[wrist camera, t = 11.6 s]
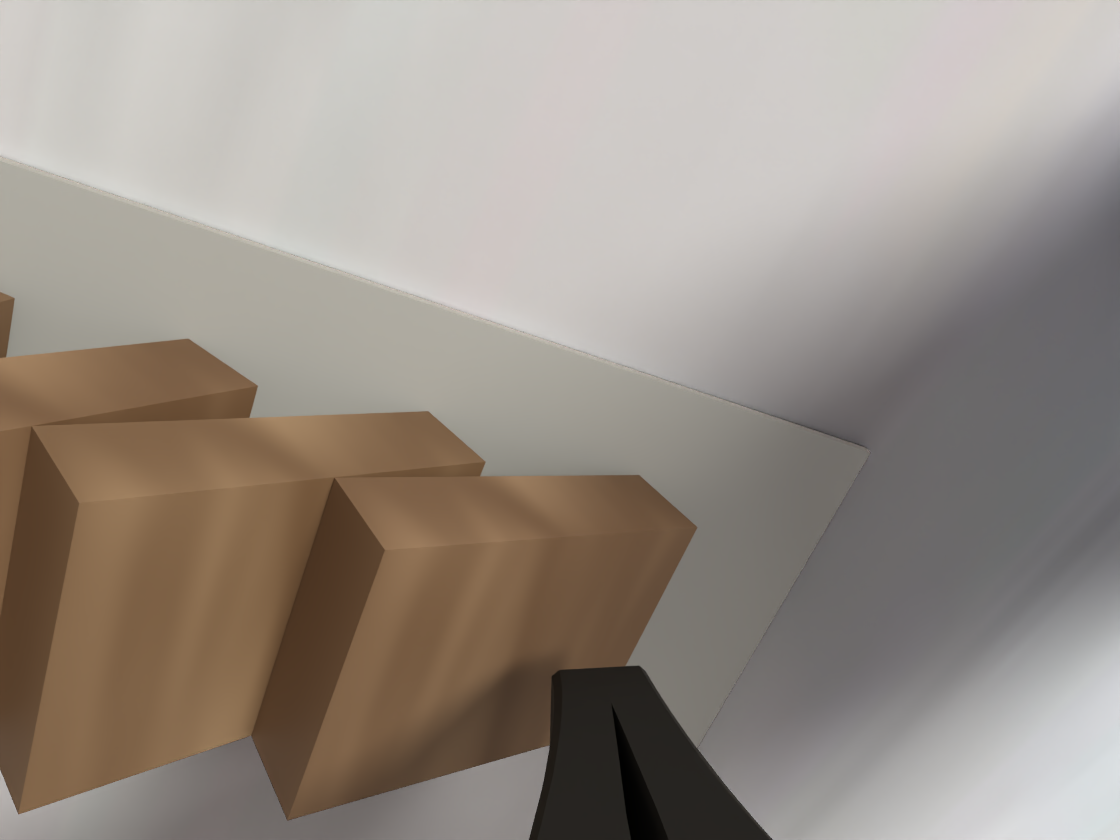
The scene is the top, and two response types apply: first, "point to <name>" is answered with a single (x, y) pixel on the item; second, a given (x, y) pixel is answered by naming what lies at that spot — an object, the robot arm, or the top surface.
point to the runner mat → (445, 398)
